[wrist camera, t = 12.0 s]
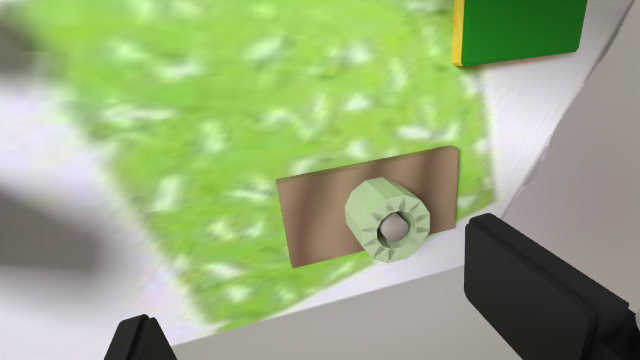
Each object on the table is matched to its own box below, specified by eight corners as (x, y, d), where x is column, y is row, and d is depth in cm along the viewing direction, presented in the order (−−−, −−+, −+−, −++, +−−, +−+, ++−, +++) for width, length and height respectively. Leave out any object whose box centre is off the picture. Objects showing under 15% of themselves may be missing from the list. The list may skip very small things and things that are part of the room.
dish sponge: (558, 51, 37) (579, 51, 34) (448, 66, 34) (463, 66, 32) (570, -22, 34) (593, -27, 32) (452, -12, 31) (468, -18, 29)
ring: (404, 172, 35) (430, 189, 30) (405, 228, 37) (429, 252, 33) (342, 185, 34) (359, 205, 29) (347, 242, 36) (364, 269, 32)
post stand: (450, 145, 37) (492, 162, 31) (447, 222, 41) (484, 250, 35) (275, 179, 33) (285, 205, 27) (290, 260, 37) (301, 299, 31)
